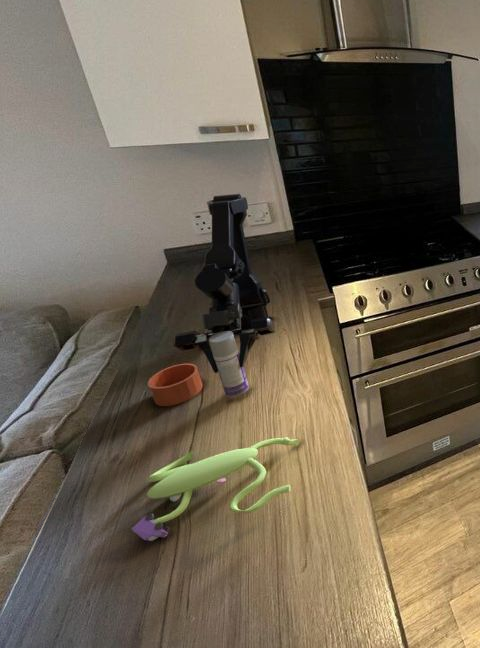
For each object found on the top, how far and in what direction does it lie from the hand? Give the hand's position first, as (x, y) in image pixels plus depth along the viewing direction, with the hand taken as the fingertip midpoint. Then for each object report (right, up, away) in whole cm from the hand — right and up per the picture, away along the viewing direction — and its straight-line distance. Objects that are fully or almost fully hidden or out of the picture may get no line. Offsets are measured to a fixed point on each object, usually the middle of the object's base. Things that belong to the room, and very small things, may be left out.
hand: (228, 370), depth 99 cm
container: (-1, -6, +4) cm, 7 cm away
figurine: (+14, -16, -20) cm, 29 cm away
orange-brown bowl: (-15, -7, +4) cm, 17 cm away
